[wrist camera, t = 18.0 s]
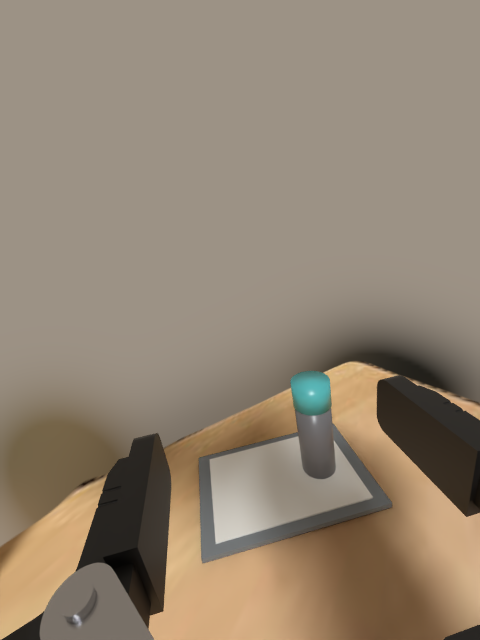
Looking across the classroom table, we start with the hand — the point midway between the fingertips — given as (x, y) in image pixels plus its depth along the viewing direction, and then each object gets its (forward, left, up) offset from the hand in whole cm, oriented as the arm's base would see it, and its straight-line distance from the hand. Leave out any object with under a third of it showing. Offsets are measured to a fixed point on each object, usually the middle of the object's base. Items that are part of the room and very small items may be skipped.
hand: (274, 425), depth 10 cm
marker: (+8, +18, -22) cm, 30 cm away
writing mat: (+3, +18, -23) cm, 29 cm away
